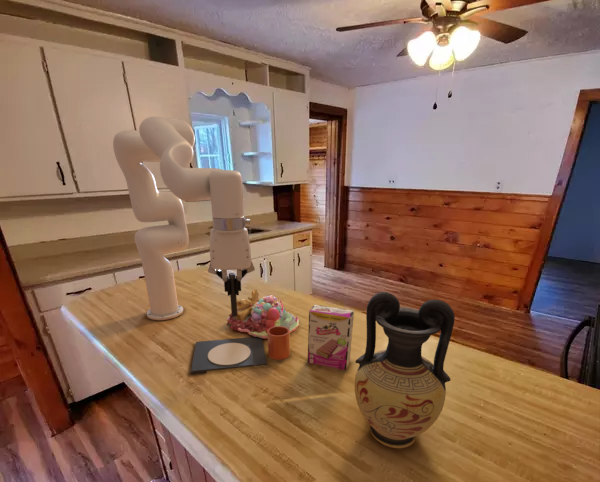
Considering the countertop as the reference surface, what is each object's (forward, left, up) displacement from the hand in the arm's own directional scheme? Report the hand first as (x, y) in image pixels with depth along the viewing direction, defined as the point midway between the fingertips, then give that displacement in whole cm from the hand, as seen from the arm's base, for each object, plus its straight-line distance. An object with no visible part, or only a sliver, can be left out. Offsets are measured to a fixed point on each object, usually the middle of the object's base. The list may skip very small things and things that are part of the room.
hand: (233, 293), depth 90 cm
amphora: (+36, +31, -20) cm, 51 cm away
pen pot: (+2, +12, -19) cm, 23 cm away
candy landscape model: (-20, +10, -19) cm, 29 cm away
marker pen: (0, 0, -8) cm, 8 cm away
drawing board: (-1, -2, -19) cm, 19 cm away
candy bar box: (+9, +25, -20) cm, 33 cm away
